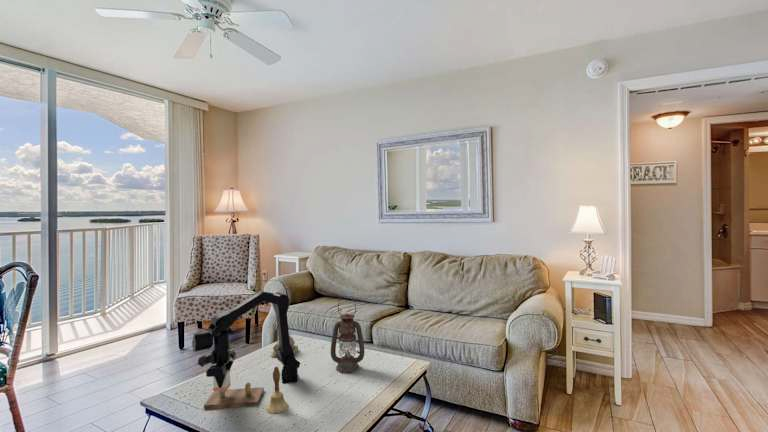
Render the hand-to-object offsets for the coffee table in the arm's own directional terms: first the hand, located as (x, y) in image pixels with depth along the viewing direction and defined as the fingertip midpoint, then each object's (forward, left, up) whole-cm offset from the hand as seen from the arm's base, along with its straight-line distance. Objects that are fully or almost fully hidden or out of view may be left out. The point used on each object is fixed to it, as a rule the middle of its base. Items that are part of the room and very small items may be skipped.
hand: (222, 384), depth 148 cm
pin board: (-5, 0, -6) cm, 8 cm away
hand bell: (-23, +9, -7) cm, 26 cm away
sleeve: (0, 0, -2) cm, 2 cm away
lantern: (-51, -23, -7) cm, 56 cm away
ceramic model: (-18, -47, -7) cm, 51 cm away
